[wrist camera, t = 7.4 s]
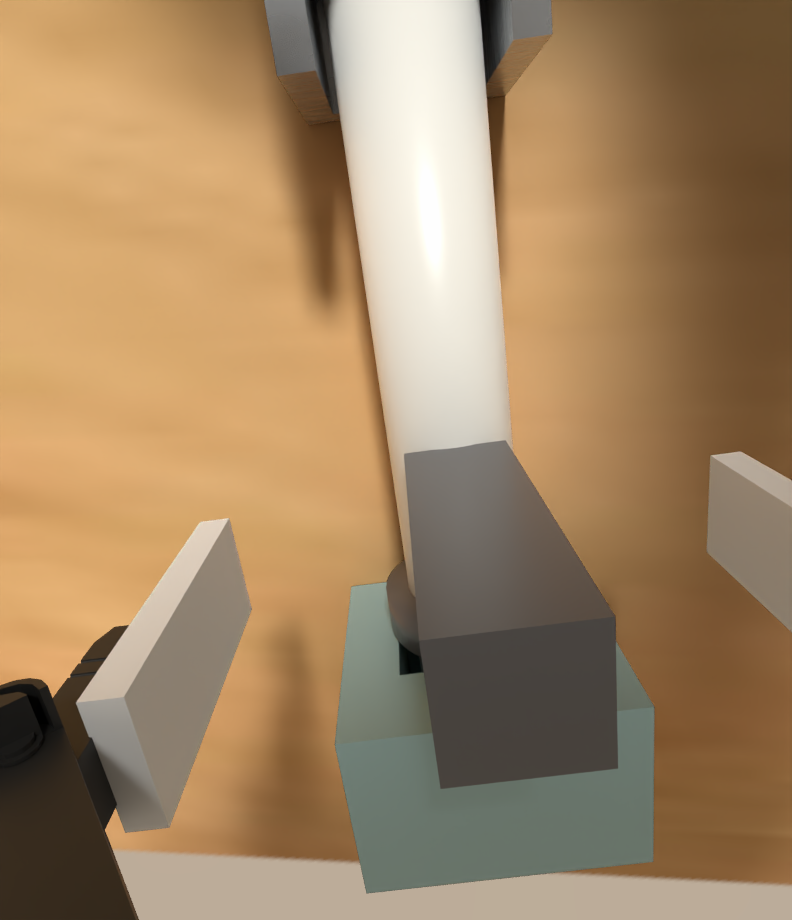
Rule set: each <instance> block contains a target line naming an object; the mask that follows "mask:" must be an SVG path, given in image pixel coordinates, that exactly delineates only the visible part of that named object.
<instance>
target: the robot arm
mask: <svg viewBox="0 0 792 920" xmlns="http://www.w3.org/2000/svg"><path fill="white" fill-rule="evenodd" d="M707 553H708V554H709V555H710V556H711V557H712V558H714V559H715V560H716V561H717V562H718V563H719V564H720V565H721V566H722V567H723V568H724V569H725V570H726V571H727V572H728V573H729V574H730V575H731V576H733V577H734V578H735V579H736V580H737V581H738V582H739V583H740V584H741V585H742V586H743V587H744V588H745V589H746V590H747V591H748V592H749V593H751V594H752V595H753V596H754V597H755V598H756V599H757V600H758V601H759V602H760V603H761V604H762V605H763V606H764V607H765V608H766V609H767V610H769V611H770V612H771V613H772V614H773V615H774V616H775V617H776V618H777V619H778V620H779V621H780V622H781V623H782V624H783V625H784V626H785V627H787V628H788V629H789V630H790V631H791V632H792V480H790V479H788V478H787V477H785V476H783V475H781V474H780V473H778V472H776V471H774V470H773V469H771V468H769V467H767V466H766V465H764V464H762V463H760V462H759V461H757V460H755V459H753V458H752V457H750V456H748V455H746V454H745V453H743V452H733V453H725V454H718V455H710V478H709V504H708V530H707ZM251 610H252V608H251V604H250V600H249V596H248V592H247V588H246V584H245V580H244V576H243V572H242V568H241V564H240V560H239V556H238V552H237V548H236V544H235V540H234V536H233V532H232V528H231V524H230V520H229V518H227V519H219V520H211V521H204V522H200V523H199V524H198V526H197V527H196V529H195V530H194V532H193V533H192V535H191V536H190V538H189V539H188V540H187V542H186V543H185V545H184V546H183V548H182V549H181V551H180V552H179V554H178V555H177V556H176V558H175V559H174V561H173V562H172V564H171V565H170V567H169V568H168V570H167V571H166V572H165V574H164V575H163V577H162V578H161V580H160V581H159V583H158V584H157V586H156V587H155V588H154V590H153V591H152V593H151V594H150V596H149V597H148V599H147V600H146V602H145V603H144V604H143V606H142V607H141V609H140V610H139V612H138V613H137V615H136V616H135V618H134V619H133V620H132V622H131V623H130V625H127V626H119V627H114V628H113V629H111V630H110V631H109V632H107V633H106V634H105V635H104V636H102V637H101V638H100V639H98V640H97V641H96V642H95V643H94V644H93V645H92V646H91V648H90V649H89V650H88V652H87V653H86V654H85V656H84V657H83V658H82V660H81V664H78V665H77V666H76V668H75V669H74V670H73V672H72V673H71V674H70V678H67V680H66V681H65V682H64V684H63V685H62V686H61V688H60V689H59V690H58V692H57V693H56V694H55V696H54V697H53V698H52V696H51V693H50V691H49V688H48V686H47V685H46V684H45V683H44V682H43V681H42V680H39V679H31V678H28V679H22V680H16V681H12V682H9V683H6V684H3V685H1V686H0V920H139V919H138V916H137V914H136V911H135V908H134V906H133V903H132V901H131V898H130V895H129V892H128V890H127V887H126V884H125V882H124V879H123V877H122V874H121V872H120V869H119V866H118V864H117V861H116V859H115V855H114V853H113V850H112V847H111V845H110V842H109V840H108V837H107V835H106V832H105V828H106V826H107V824H108V822H109V820H110V818H111V816H112V814H113V812H114V810H115V808H116V809H117V812H118V815H119V817H120V820H121V822H122V825H123V828H124V830H125V833H127V832H136V831H145V830H153V829H162V828H169V827H170V825H171V822H172V819H173V817H174V814H175V811H176V809H177V806H178V803H179V801H180V798H181V795H182V793H183V790H184V787H185V785H186V782H187V779H188V777H189V774H190V771H191V769H192V766H193V764H194V761H195V758H196V756H197V753H198V750H199V748H200V745H201V742H202V740H203V737H204V734H205V732H206V729H207V726H208V724H209V721H210V718H211V716H212V713H213V710H214V708H215V705H216V703H217V700H218V697H219V695H220V692H221V689H222V687H223V684H224V681H225V679H226V676H227V673H228V671H229V668H230V665H231V663H232V660H233V657H234V655H235V652H236V649H237V647H238V644H239V642H240V639H241V636H242V634H243V631H244V628H245V626H246V623H247V620H248V618H249V615H250V612H251Z"/></svg>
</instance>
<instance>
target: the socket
mask: <svg viewBox="0 0 792 920" xmlns="http://www.w3.org/2000/svg"><path fill="white" fill-rule="evenodd" d="M386 584H387V582H383V583H375V584H367V585H359V586H352V587H351V596H350V605H349V615H348V624H347V633H346V643H345V652H344V662H343V671H342V681H341V690H340V700H339V709H338V718H337V728H336V737H335V748H336V753H337V757H338V762H339V767H340V772H341V776H342V781H343V786H344V790H345V795H346V800H347V804H348V809H349V814H350V818H351V823H352V828H353V832H354V837H355V842H356V846H357V851H358V856H359V860H360V865H361V870H362V874H363V879H364V884H365V888H366V893H375V892H384V891H392V890H402V889H411V888H419V887H429V886H438V885H446V884H456V883H465V882H474V881H483V880H492V879H502V878H511V877H520V876H529V875H538V874H547V873H556V872H565V871H574V870H584V869H593V868H602V867H611V866H620V865H629V864H638V863H647V862H653V832H654V705H653V704H652V702H651V700H650V698H649V697H648V695H647V693H646V692H645V690H644V688H643V687H642V685H641V683H640V681H639V680H638V678H637V676H636V675H635V673H634V671H633V669H632V668H631V666H630V664H629V663H628V661H627V659H626V657H625V656H624V654H623V652H622V651H621V649H620V647H619V646H618V644H617V642H616V677H617V733H618V769H611V770H603V771H594V772H585V773H576V774H568V775H559V776H550V777H542V778H533V779H524V780H516V781H507V782H498V783H490V784H481V785H472V786H463V787H455V788H446V789H440V782H439V775H438V768H437V761H436V754H435V747H434V741H433V734H432V727H431V720H430V713H429V706H428V699H427V692H426V685H425V678H424V672H423V673H421V666H420V660H419V656H418V655H416V654H414V653H412V652H410V651H409V650H408V649H406V648H405V647H404V646H403V645H402V644H401V643H400V642H399V641H398V639H397V638H396V636H395V634H394V632H393V628H392V622H391V616H390V610H389V604H388V597H387V591H386Z"/></svg>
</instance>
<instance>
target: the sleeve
mask: <svg viewBox="0 0 792 920" xmlns="http://www.w3.org/2000/svg"><path fill="white" fill-rule="evenodd" d="M479 1H480V15H481V28H482V41H483V55H484V68H485V81H486V95H487V98H491V97H498V96H505V95H506V94H507V93H508V91H509V90H510V89H511V88H512V86H513V85H514V84H515V82H516V81H517V80H518V78H519V77H520V76H521V75H522V73H523V72H524V71H525V69H526V68H527V67H528V65H529V64H530V63H531V61H532V60H533V59H534V58H535V56H536V55H537V54H538V52H539V51H540V50H541V48H542V47H543V46H544V44H545V43H546V42H547V41H548V39H549V38H550V37H551V35H552V13H551V0H479ZM264 3H265V9H266V14H267V20H268V26H269V32H270V37H271V43H272V49H273V55H274V60H275V66H276V72H277V77H278V78H279V80H280V81H281V83H282V85H283V86H284V88H285V89H286V91H287V92H288V94H289V96H290V97H291V99H292V100H293V102H294V104H295V105H296V107H297V108H298V110H299V111H300V113H301V115H302V116H303V118H304V119H305V121H306V123H307V124H308V125H312V124H318V123H325V122H332V121H338V120H340V114H339V107H338V100H337V93H336V86H335V79H334V73H333V66H332V59H331V52H330V45H329V38H328V32H327V25H326V18H325V11H324V4H323V0H264Z"/></svg>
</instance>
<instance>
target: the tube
mask: <svg viewBox="0 0 792 920" xmlns="http://www.w3.org/2000/svg"><path fill="white" fill-rule="evenodd" d="M323 4H324V11H325V18H326V25H327V32H328V38H329V45H330V52H331V59H332V66H333V73H334V79H335V86H336V93H337V100H338V107H339V114H340V120H341V127H342V134H343V141H344V148H345V154H346V161H347V168H348V175H349V182H350V189H351V195H352V202H353V209H354V216H355V223H356V230H357V236H358V243H359V250H360V257H361V264H362V270H363V277H364V284H365V291H366V298H367V305H368V311H369V318H370V325H371V332H372V339H373V346H374V352H375V359H376V366H377V373H378V380H379V387H380V393H381V400H382V407H383V414H384V421H385V427H386V434H387V441H388V448H389V455H390V462H391V468H392V475H393V482H394V489H395V496H396V503H397V509H398V516H399V523H400V530H401V537H402V543H403V550H404V557H405V560H403V561H402V562H401V563H399V564H398V565H397V566H396V567H395V568H394V569H393V571H392V572H391V574H390V575H389V577H388V580H387V584H386V591H387V597H388V604H389V610H390V616H391V622H392V628H393V632H394V634H395V636H396V638H397V639H398V641H399V642H400V643H401V644H402V645H403V646H404V647H405V648H406V649H408V650H409V651H410V652H412V653H414V654H416V655H418V656H419V660H420V666H421V673H423V672H424V678H425V685H426V692H427V699H428V706H429V713H430V720H431V727H432V734H433V741H434V747H435V754H436V761H437V768H438V775H439V782H440V789H446V788H455V787H463V786H472V785H481V784H490V783H498V782H507V781H516V780H524V779H533V778H542V777H550V776H559V775H568V774H576V773H585V772H594V771H603V770H611V769H618V733H617V677H616V622H615V615H614V613H613V612H612V610H611V609H610V607H609V605H608V604H607V602H606V601H605V599H604V597H603V596H602V594H601V593H600V591H599V589H598V588H597V586H596V585H595V583H594V581H593V580H592V578H591V577H590V575H589V573H588V572H587V570H586V569H585V567H584V565H583V564H582V562H581V561H580V559H579V557H578V556H577V554H576V552H575V551H574V549H573V548H572V546H571V544H570V543H569V541H568V540H567V538H566V536H565V535H564V533H563V532H562V530H561V528H560V527H559V525H558V524H557V522H556V520H555V519H554V517H553V516H552V514H551V512H550V511H549V509H548V508H547V506H546V504H545V503H544V501H543V500H542V498H541V496H540V495H539V493H538V491H537V490H536V488H535V487H534V485H533V483H532V482H531V480H530V479H529V477H528V475H527V474H526V472H525V471H524V469H523V467H522V466H521V464H520V463H519V461H518V459H517V458H516V456H515V455H514V453H513V441H512V428H511V414H510V401H509V388H508V374H507V361H506V348H505V334H504V321H503V308H502V294H501V281H500V268H499V255H498V241H497V228H496V215H495V201H494V188H493V175H492V161H491V148H490V135H489V121H488V108H487V95H486V81H485V68H484V55H483V41H482V28H481V15H480V1H479V0H323Z"/></svg>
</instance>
